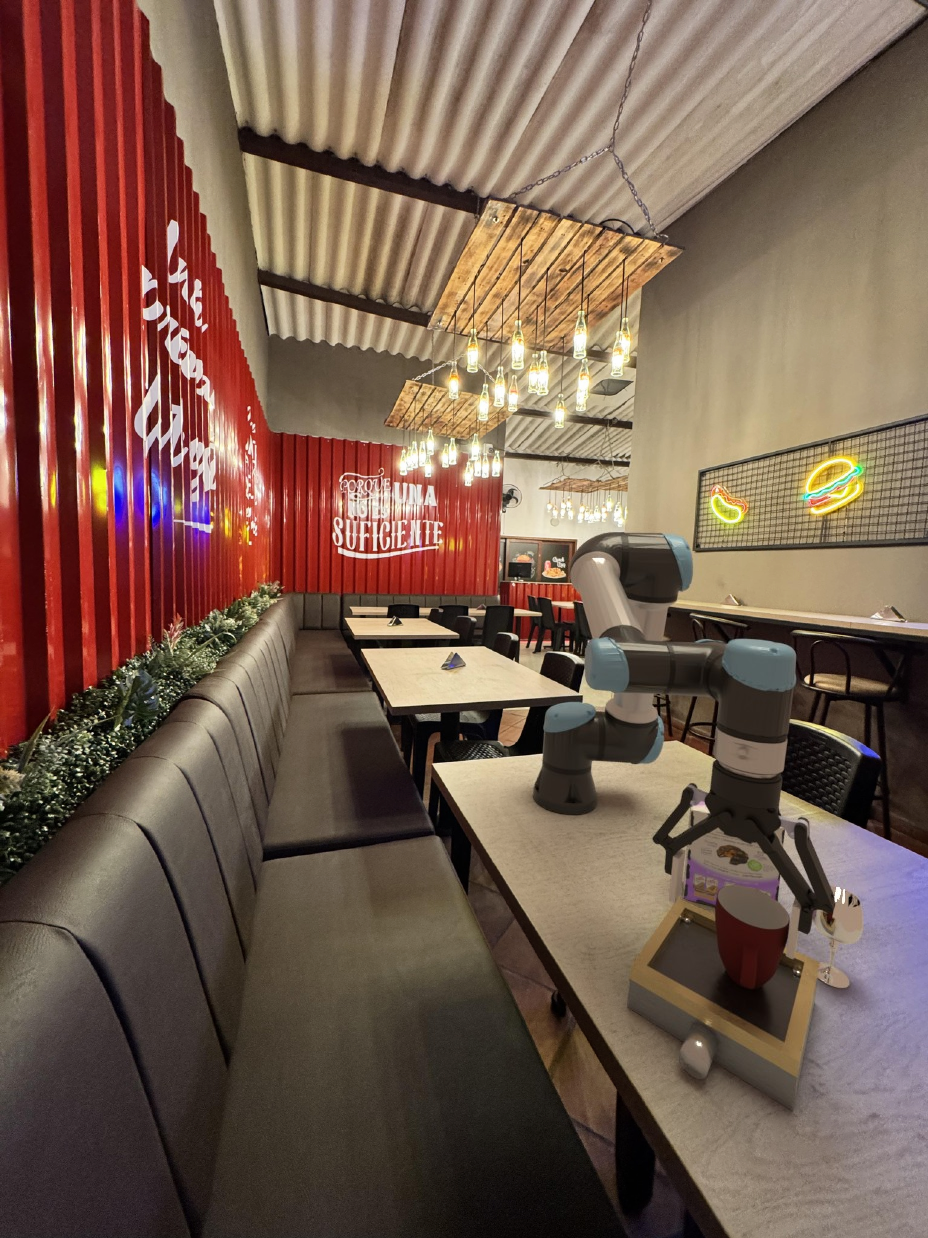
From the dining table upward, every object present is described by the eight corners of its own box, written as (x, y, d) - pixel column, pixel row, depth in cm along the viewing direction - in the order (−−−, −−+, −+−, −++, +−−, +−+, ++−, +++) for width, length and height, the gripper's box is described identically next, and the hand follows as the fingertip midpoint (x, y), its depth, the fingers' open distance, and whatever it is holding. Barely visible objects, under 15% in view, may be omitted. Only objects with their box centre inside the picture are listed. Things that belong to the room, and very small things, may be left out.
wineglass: (795, 959, 73) (804, 883, 72) (831, 958, 73) (841, 882, 72) (827, 993, 67) (837, 911, 66) (866, 991, 68) (877, 910, 66)
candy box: (770, 903, 85) (780, 812, 83) (776, 925, 80) (787, 829, 78) (682, 880, 91) (690, 794, 89) (682, 899, 86) (691, 808, 84)
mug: (792, 1033, 57) (802, 954, 55) (714, 1007, 60) (722, 932, 58) (773, 963, 66) (782, 895, 65) (707, 944, 69) (713, 878, 68)
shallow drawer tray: (614, 1028, 61) (617, 985, 60) (674, 932, 78) (678, 898, 77) (786, 1144, 49) (792, 1092, 49) (814, 1002, 66) (819, 962, 65)
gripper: (636, 745, 67) (624, 891, 69) (876, 814, 50) (848, 1000, 53) (656, 732, 72) (644, 867, 75) (879, 789, 56) (853, 959, 59)
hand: (729, 923), depth 64 cm, fingers open, 13 cm apart
